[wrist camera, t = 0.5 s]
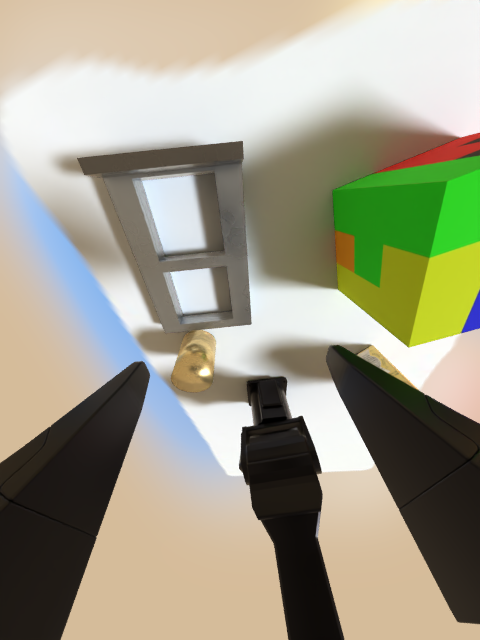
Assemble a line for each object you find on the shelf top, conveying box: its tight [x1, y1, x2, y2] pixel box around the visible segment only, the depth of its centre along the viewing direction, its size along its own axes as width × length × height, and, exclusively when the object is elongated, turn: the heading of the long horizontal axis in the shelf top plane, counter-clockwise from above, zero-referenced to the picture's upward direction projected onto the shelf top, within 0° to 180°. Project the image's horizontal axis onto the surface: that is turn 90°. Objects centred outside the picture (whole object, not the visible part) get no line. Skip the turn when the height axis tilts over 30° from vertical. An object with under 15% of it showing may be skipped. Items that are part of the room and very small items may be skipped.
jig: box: [77, 141, 251, 333], centre depth 17 cm, size 15×10×4 cm, turn 5°
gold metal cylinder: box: [171, 330, 216, 392], centre depth 22 cm, size 4×4×6 cm
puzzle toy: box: [333, 133, 480, 347], centre depth 14 cm, size 10×10×10 cm
